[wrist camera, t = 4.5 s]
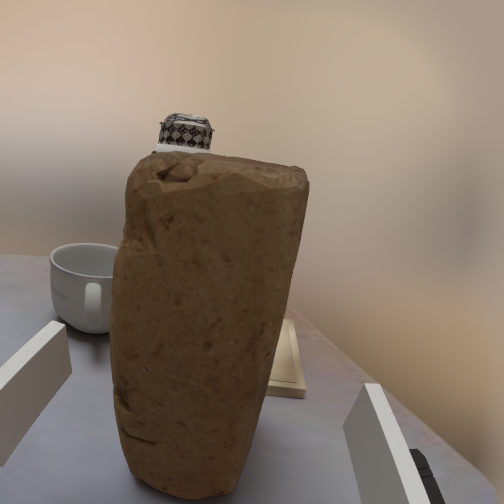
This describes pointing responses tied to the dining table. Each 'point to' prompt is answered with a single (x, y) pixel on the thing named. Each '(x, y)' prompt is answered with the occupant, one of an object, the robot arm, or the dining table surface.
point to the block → (199, 312)
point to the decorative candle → (184, 134)
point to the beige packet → (287, 365)
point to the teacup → (83, 285)
